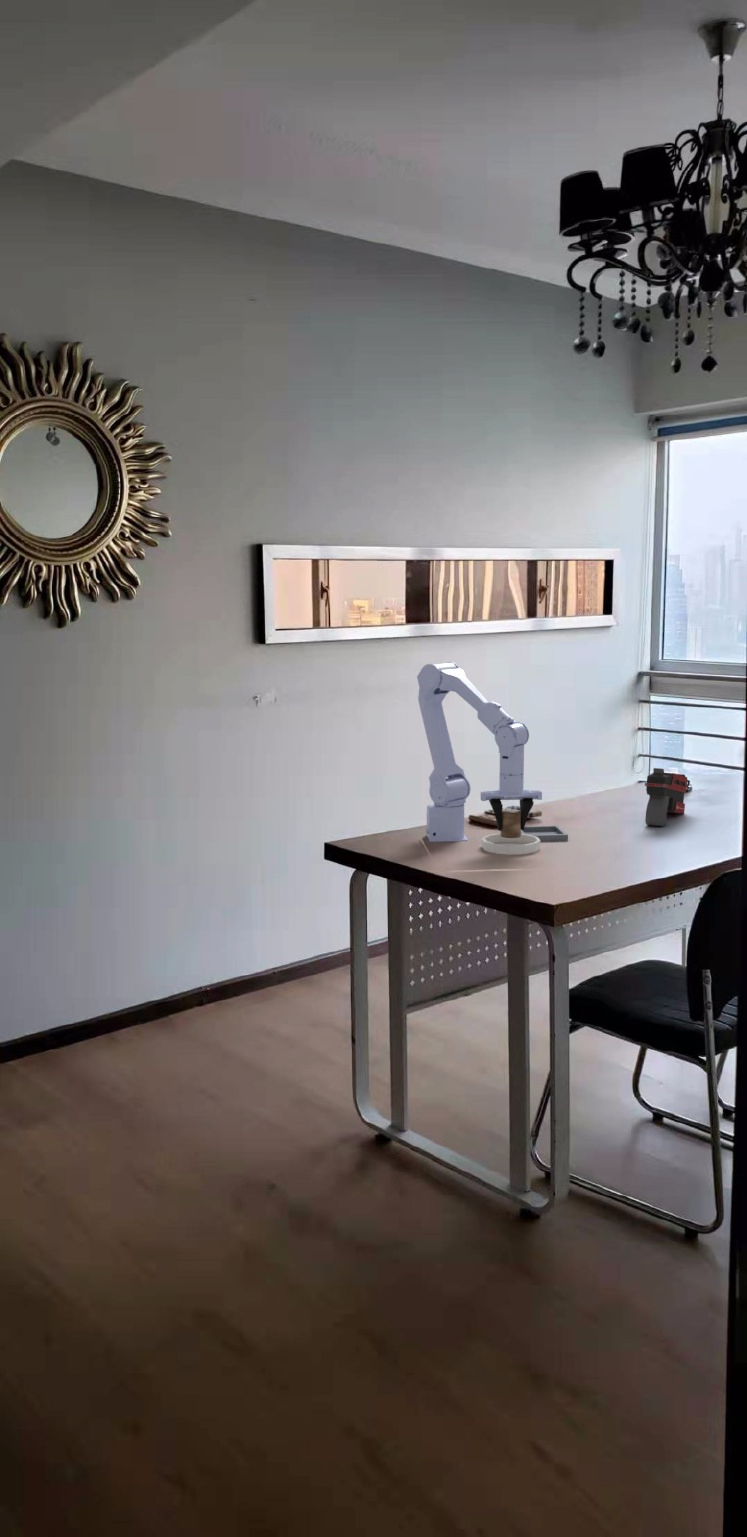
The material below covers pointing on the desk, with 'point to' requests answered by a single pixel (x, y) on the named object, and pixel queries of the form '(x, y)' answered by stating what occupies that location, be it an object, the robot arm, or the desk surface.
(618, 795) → the desk surface
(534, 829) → the tray
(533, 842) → the bowl
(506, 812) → the cylinder
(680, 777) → the toy gun
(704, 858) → the desk surface
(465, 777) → the robot arm
